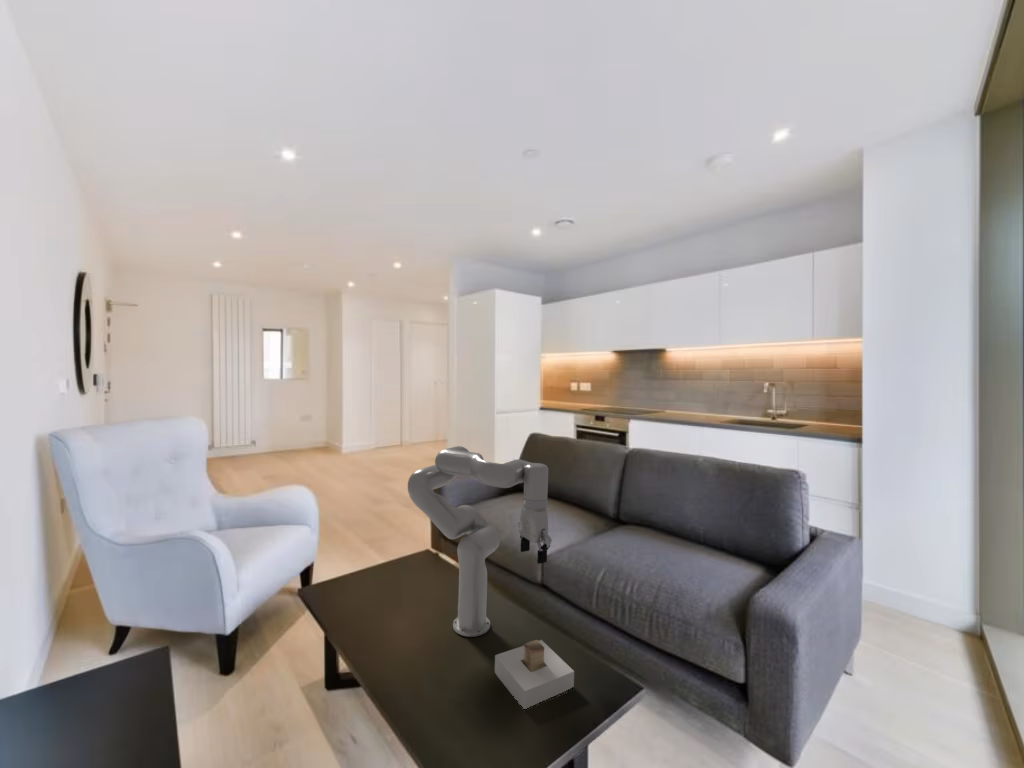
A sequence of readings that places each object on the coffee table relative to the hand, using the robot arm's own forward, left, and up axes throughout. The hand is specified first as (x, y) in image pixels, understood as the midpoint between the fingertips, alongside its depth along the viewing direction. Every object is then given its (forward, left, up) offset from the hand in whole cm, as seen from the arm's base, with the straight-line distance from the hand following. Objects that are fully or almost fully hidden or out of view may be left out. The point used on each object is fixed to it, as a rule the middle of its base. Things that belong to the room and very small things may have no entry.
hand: (533, 556), depth 137 cm
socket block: (+14, -8, -28) cm, 33 cm away
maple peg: (+14, -8, -28) cm, 33 cm away
